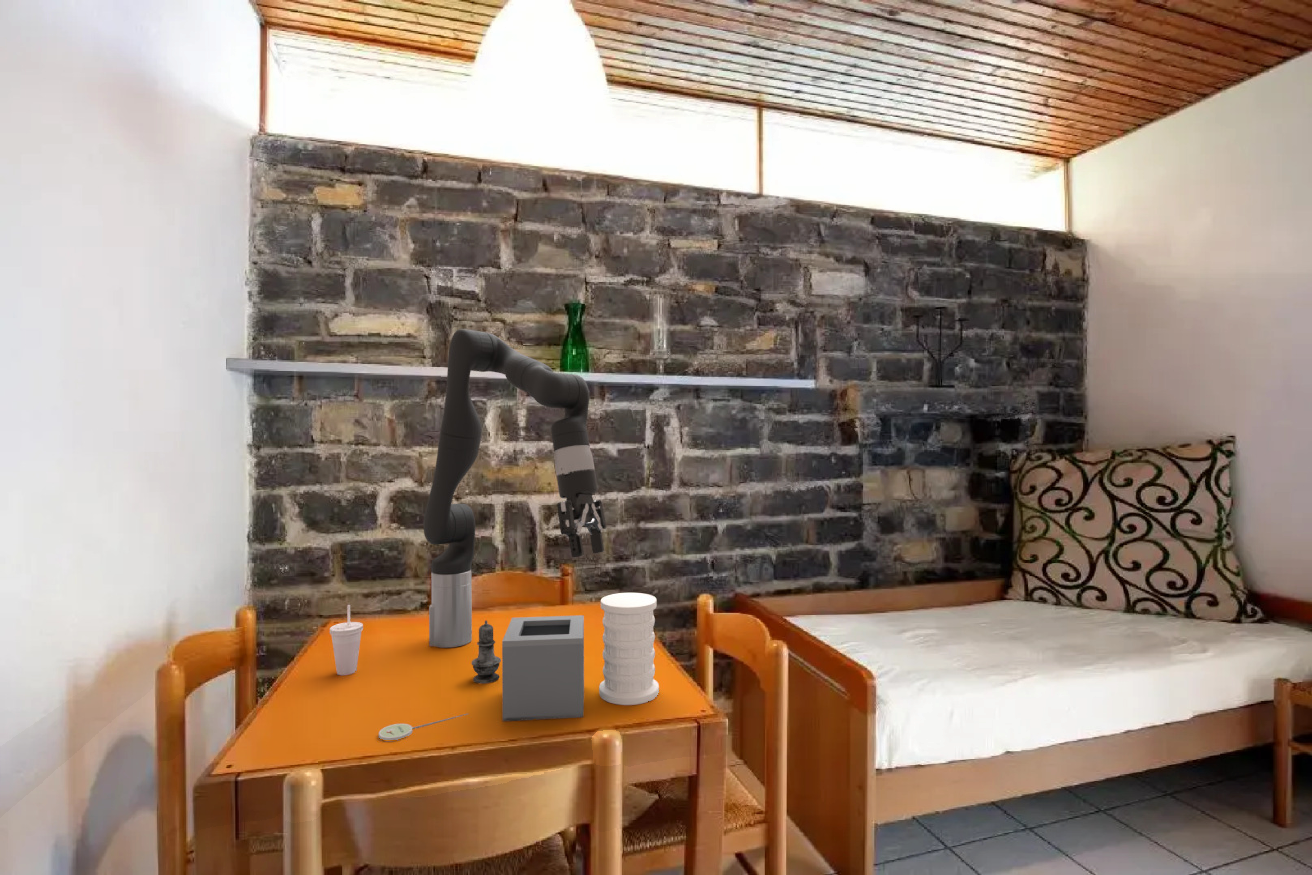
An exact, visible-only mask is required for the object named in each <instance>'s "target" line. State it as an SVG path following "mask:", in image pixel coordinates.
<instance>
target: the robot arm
mask: <svg viewBox="0 0 1312 875" xmlns="http://www.w3.org/2000/svg"><path fill="white" fill-rule="evenodd" d="M447 358H448V359H447V375H446V389H445V400H444V407H443V415H442V418H441V427H440V432H439V438H438V446H437V454H436V461H435V467H434V474H433V479H432V483H431V484H432V485H431V487H430V491H429V496H428V500H427V504H426V507H425V512H424V516H423V534H424V535H423V536H424V537H425V539H426V541H427V542H428V543H429V544H431V545H434V546H435V545H437V546H439V545H447V544H448V547H447V548H446V549H445V550H444V551H443V553H441V554H440V555H438V556H437V557H435V558H433V560H432V561H431V568H430V570H431V574H430V575H431V604H430V605H429V607H428V615H429V616H428V619H429V620H428V623H429V624H428V628H429V630H428V633H429V634H428V635H429V637H428V639H429V640H428V643H429V644H428V646H429V647H436V648H442V649H443V648H455V647H456V648H457V647H462V646H464V645H468V644H469V643H470V642H472V640H473V636H472V635H473V630H472V629H473V624H472V623H473V621H472V620H473V613H472V612H473V610H472V606H473V604H472V603H473V602H472V598H473V597H472V564H473V560H474V556H475V544H476V543H475V542H476V541H475V540H476V539H475V538H476V518H475V514H474V511H473V509H472V508H471V507H470V505H468V504H466V503H461V502H460V503H453V500H454V499H453V498H454V495H455V492H456V490H457V489H458V486H459V484H460V483H461V482H462V480H463V479H464V477H465V476H466V475H467V474H468V472H469V471H470V470H471V468H472V467H473V464H474V463H475V462H476V460H477V458H478V455H479V452H480V447H481V446H480V445H481V438H482V435H483V434H482V432H483V428H482V426H483V425H482V422H481V420H480V417H479V414H478V412H477V410H476V408H475V405H474V404H473V401H472V398H471V394H470V379H471V378H470V377H471V376H470V375H471V372H481V373H485V372H486V373H487V372H491V373H496V374H497V373H498V374H502V375H504V376H505V378H506V380H507V381H508V382H509V383H510V384H511V385H512V386H513V387H515V388H517V389H519V390H521V391H522V392H525V393H527V394H529V395H530V396H531V397H532V398H533V399H534V400H535V401H536V402H537V403H538V404H540V405H541V406H544V407H546V408H550V409H564V417H563V418H561V419H558V420H556V421H554V422H553V423H552V425H551V427H550V428H551V429H550V430H551V431H550V432H551V439H552V445H553V446H552V447H553V453H554V455H553V456H554V467H555V468H554V469H555V474H556V481H557V488H558V494H559V497H560V498H561V499H566V500H564V501H559V502H557V503H556V504H557V514H558V521H559V522H558V523H559V531H560V534H561V535H566V538H568V541H569V548H570V553H571V557H572V558H578V557H579V558H580V557H583V556H584V554H585V553H584V547H583V545H584V544H583V540H582V535H581V531H582V527H585V528H587V530H588V533H589V538H590V544H591V550H592V551H591V552H592V553H593V554H598V553H603V552H604V551H605V546H604V540H603V535H602V533H603V532H604V531H603V530H605V529H607V523H606V518H605V512H604V508H603V502H602V500H601V499H597V500H596V499H595V500H594V498H593V495H594V494H597V493H598V490H599V488H598V480H597V475H596V469H595V463H594V456H593V453H592V450H591V447H590V441H589V434H588V429H587V424H588V418H589V417H588V414H589V405H590V389H589V386H588V384H587V382H586V380H585V379H584V378H583V377H582V376H580V375H578V374H573V373H571V374H570V373H562V372H554V369H552V368H551V367H550V366H549V365H548V364H546V363H543V362H541V361H539V360H536V359H535V358H533V357H530V356H527V355H524V354H523V353H520V352H519V351H517V350H516V349H514V348H513V347H511V346H509V345H508V344H507V343H506V342H505V341H504V340H502V339H501V338H500V337H498V336H496V335H494V334H493V333H491V332H486V331H482V330H481V331H479V330H473V329H468V328H467V329H466V328H460V329H458V330H456V331H455V332H454V333H453V335H452V337H451V339H450V343H449V348H448V357H447Z"/></svg>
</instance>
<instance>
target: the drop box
mask: <svg viewBox="0 0 1312 875" xmlns="http://www.w3.org/2000/svg"><path fill="white" fill-rule="evenodd" d="M584 617H585V616H584V615H582V614H581V615H579V614H578V615H555V616H554V615H553V616H529V617H528V616H525V617H520V616H519V617H511V619H510V622H509V623H508V627H507V629H506V631H505V634H504V636H503V638H502V642H501V643H502V644H501V646H502V649H501V654H502V657H501V661H502V662H501V663H502V666H501V668H502V669H501V670H502V671H501V672H502V675H501V676H502V679H501V680H502V681H501V682H502V684H501V685H502V688H501V689H502V696H501V697H502V722H514V721H515V722H516V721H533V720H534V719H536V721H537V720H552V719H553V720H555V719H570V718H571V719H572V718H584V705H585V704H584V703H585V701H584V700H585V658H584V657H585V639H584V638H585V628H584V627H585V622H584V621H585V618H584Z"/></svg>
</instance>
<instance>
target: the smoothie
mask: <svg viewBox="0 0 1312 875" xmlns="http://www.w3.org/2000/svg"><path fill="white" fill-rule="evenodd" d="M346 610H347V612H346V614H347V615H346V616H347V619H346V620H347V622H346V621H345V622H342V623H337V624H335V625H332V626H331V627H330V628H329V634H330V635H331V640H332V647H333V648H332V649H333V655H334V661H335V662H334V663H335V668H336V670H335V671H336V674H337V675H339V676H348V675H352V674H354V673H356V672H357V670H358V669H357V668H358V661H359V651H360V645H361V639H362V638H361V637H362V631H363V630H364V624H363V623H362V622H359V621H351V604H347V607H346ZM355 671H356V672H355Z"/></svg>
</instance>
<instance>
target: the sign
mask: <svg viewBox="0 0 1312 875" xmlns="http://www.w3.org/2000/svg"><path fill="white" fill-rule="evenodd" d="M463 715H464V716H467V715H468V713H465V714H461V715H457V716H452V717H449V718H445V719H442V720H437V721H433V722H429V723H425V724H422V725H416V726H412V725H410V724H409V723H394V724H389V725H387V726H385V727H382V728H381V729H380V730H379V732H378V739H379V738H380V739H383V740H397V741H399V740H398V739H401V738H404V737H406V736H408V737H409V736H410V735H412V733H413V730H415V728H416V729H419V728H420V729H421V728H424V727H427V726H430V725H435V724H437V723H441V722H446V721H449V720H453V719H456V718H460V717H463ZM412 729H413V730H412ZM406 738H407V737H406ZM380 739H379V740H380ZM404 739H405V738H404ZM401 740H402V739H401Z"/></svg>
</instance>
